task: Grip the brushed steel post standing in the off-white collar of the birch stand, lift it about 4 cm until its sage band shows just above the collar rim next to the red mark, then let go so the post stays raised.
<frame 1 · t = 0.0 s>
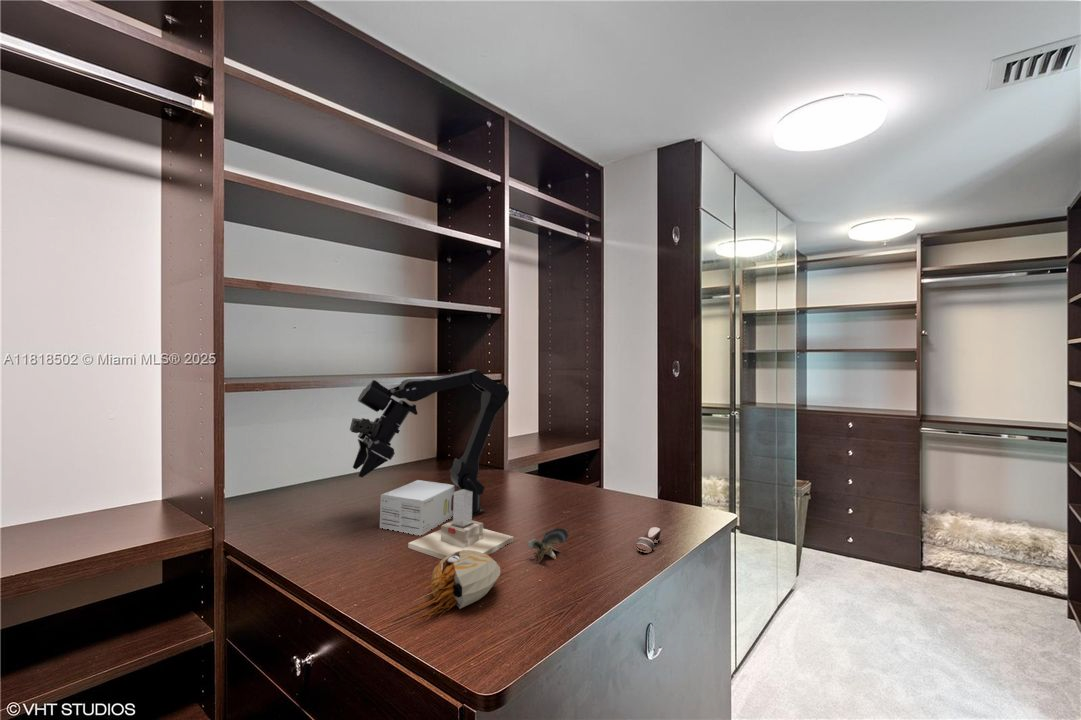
hand: (357, 472, 128), 15 cm above the cabinet, tool tilted 35°, fingers open, 9 cm apart
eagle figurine: (548, 558, 114), on the cabinet
supplement box: (418, 523, 135), on the cabinet
birch stand: (462, 544, 120), on the cabinet
steel post: (462, 515, 120), point 7 cm above the cabinet, slide at 0.0 cm
nautilus: (451, 601, 94), on the cabinet
heeled mule: (647, 548, 122), on the cabinet
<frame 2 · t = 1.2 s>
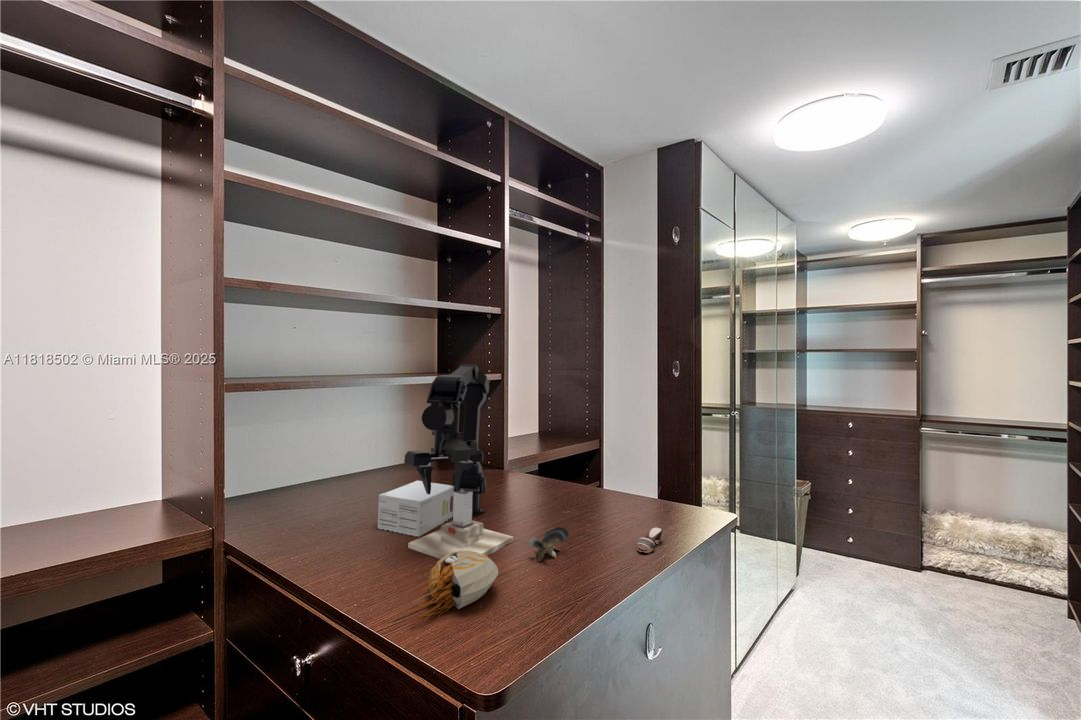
hand: (443, 492, 119), 13 cm above the cabinet, tool pointing down, fingers open, 8 cm apart
steel post: (462, 515, 120), point 7 cm above the cabinet, slide at 0.0 cm, touching gripper
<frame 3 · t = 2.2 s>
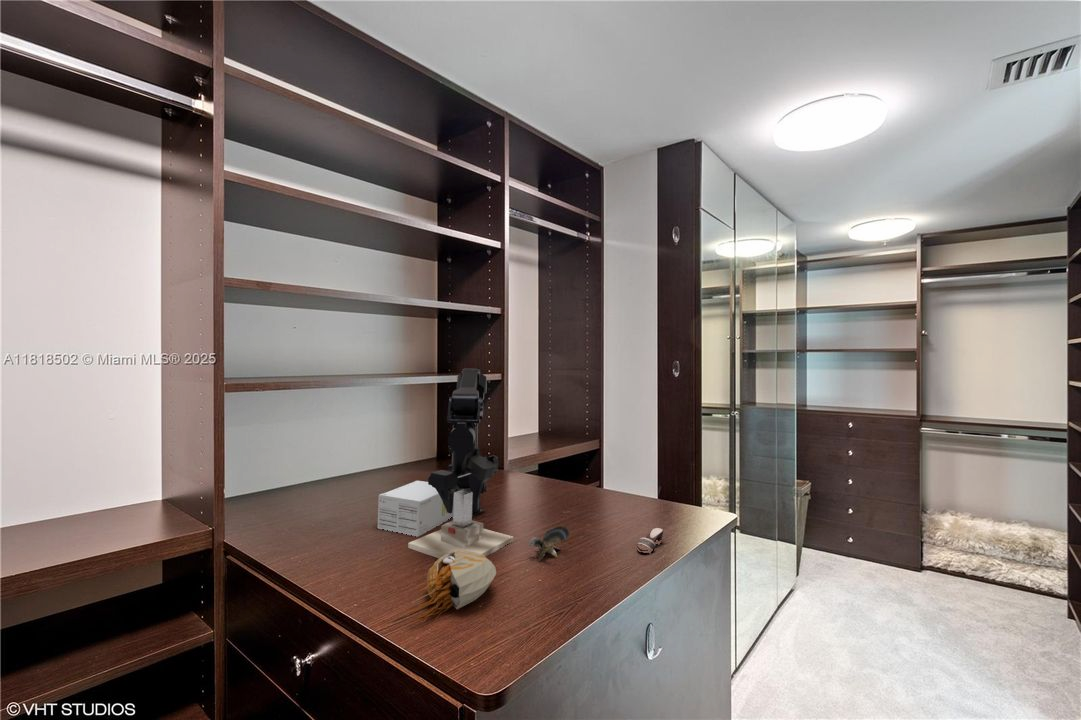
hand: (462, 508, 120), 9 cm above the cabinet, tool pointing down, fingers open, 9 cm apart
steel post: (462, 516, 120), point 7 cm above the cabinet, slide at -0.1 cm, touching birch stand
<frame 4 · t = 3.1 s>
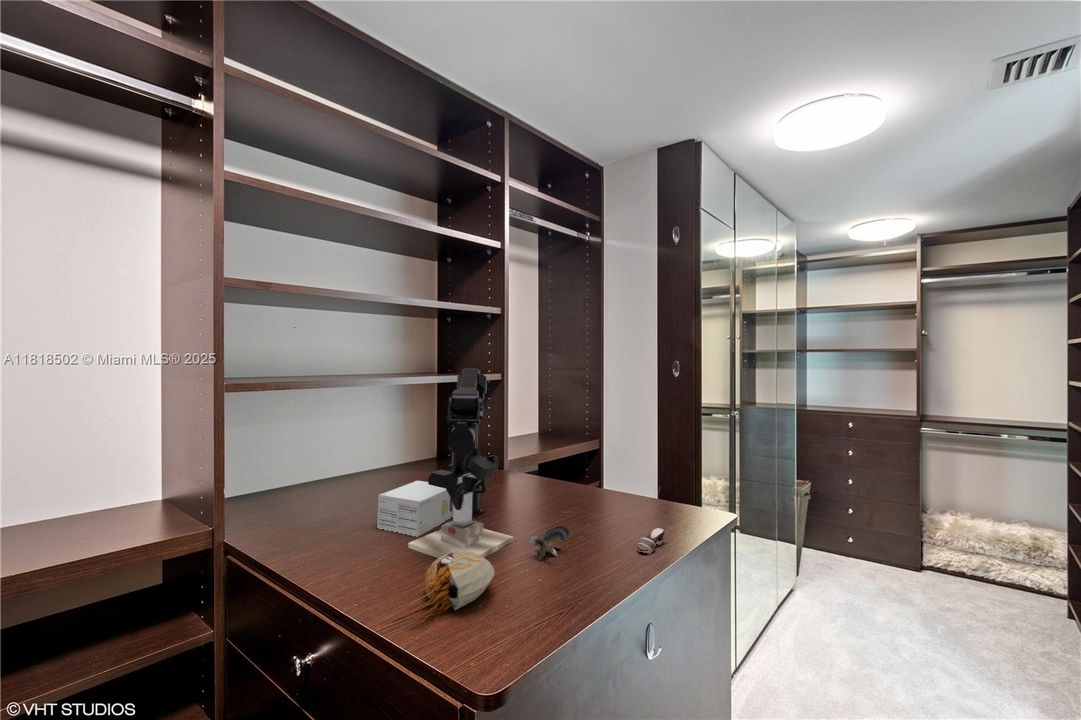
hand: (462, 507, 120), 9 cm above the cabinet, tool pointing down, fingers closed on steel post, 3 cm apart
steel post: (462, 515, 120), point 7 cm above the cabinet, slide at -0.1 cm, touching gripper
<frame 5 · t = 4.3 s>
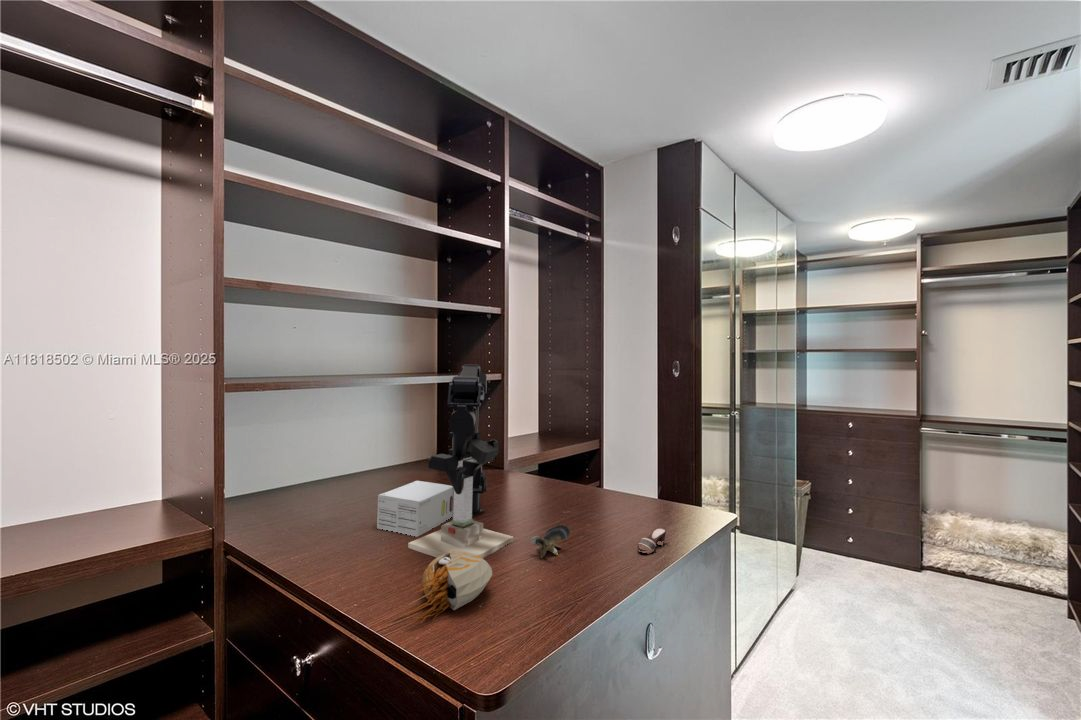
hand: (463, 492, 120), 13 cm above the cabinet, tool pointing down, fingers closed on steel post, 3 cm apart
steel post: (463, 500, 120), point 11 cm above the cabinet, slide at 3.8 cm, touching gripper
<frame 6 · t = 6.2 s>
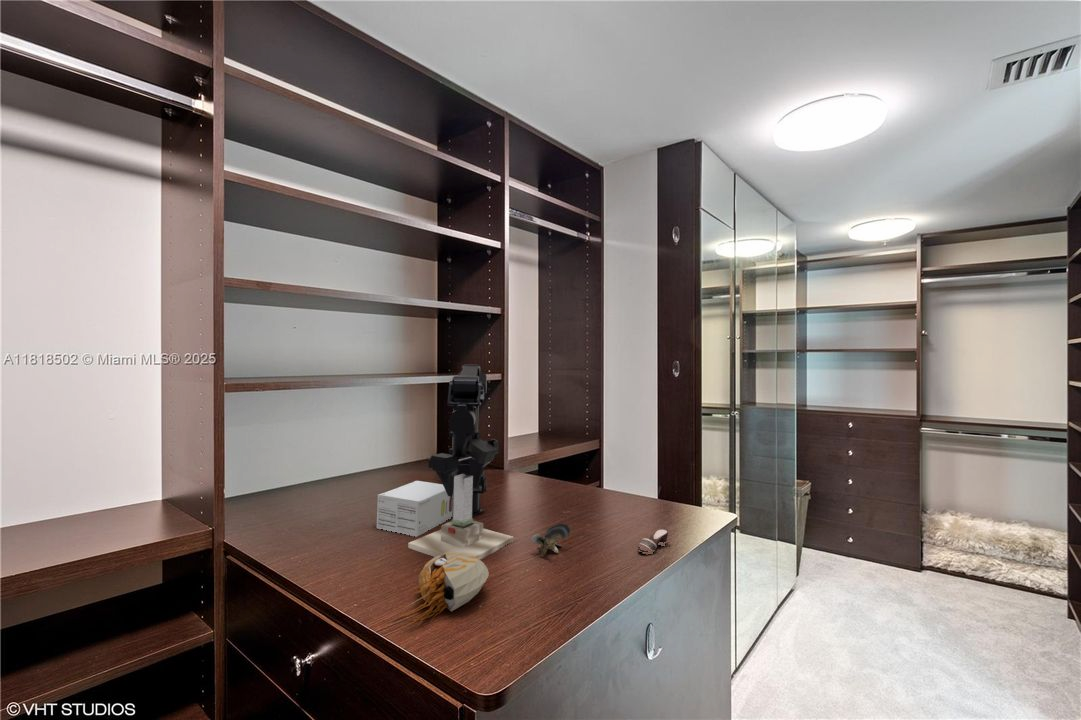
hand: (463, 491, 120), 13 cm above the cabinet, tool pointing down, fingers open, 9 cm apart
steel post: (463, 499, 120), point 11 cm above the cabinet, slide at 3.8 cm
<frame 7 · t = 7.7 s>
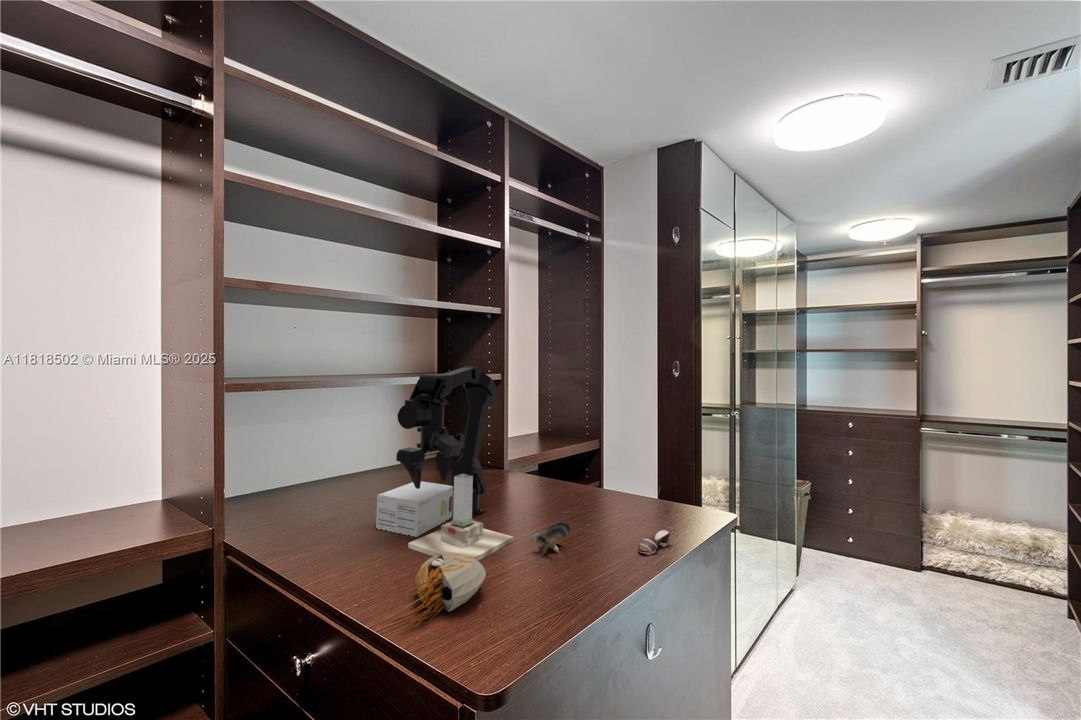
hand: (431, 484, 126), 13 cm above the cabinet, tool pointing down, fingers open, 9 cm apart
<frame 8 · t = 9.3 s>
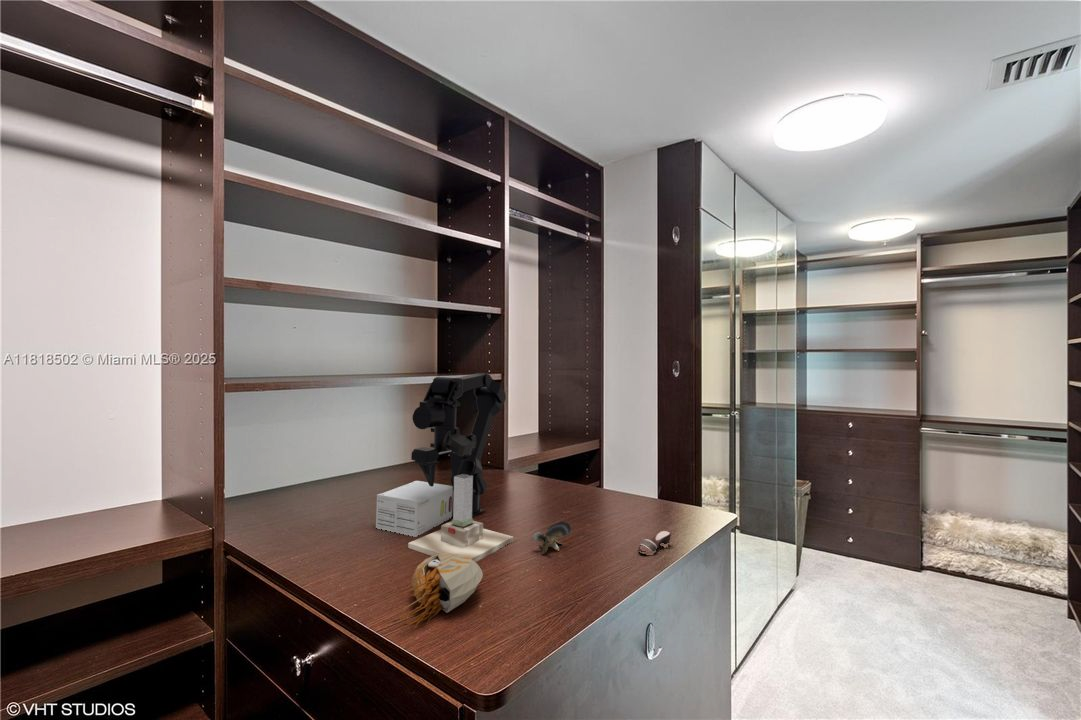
hand: (443, 482, 132), 12 cm above the cabinet, tool pointing down, fingers open, 9 cm apart
at the end: steel post slide at 3.8 cm; the gripper is holding nothing; supplement box moved 1.1 cm from its start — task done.
